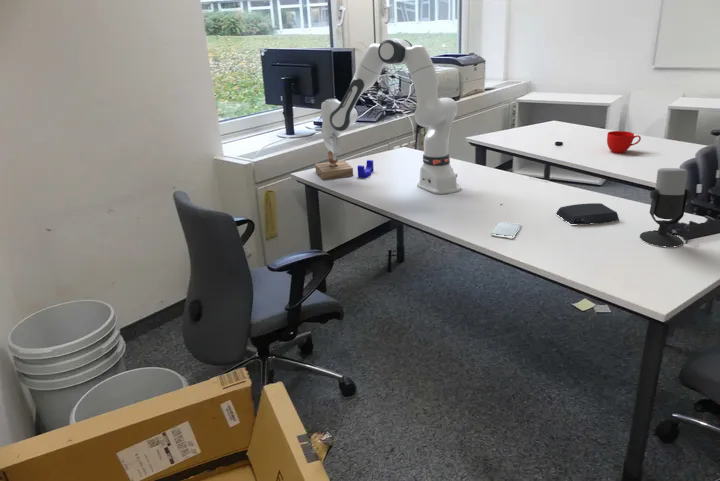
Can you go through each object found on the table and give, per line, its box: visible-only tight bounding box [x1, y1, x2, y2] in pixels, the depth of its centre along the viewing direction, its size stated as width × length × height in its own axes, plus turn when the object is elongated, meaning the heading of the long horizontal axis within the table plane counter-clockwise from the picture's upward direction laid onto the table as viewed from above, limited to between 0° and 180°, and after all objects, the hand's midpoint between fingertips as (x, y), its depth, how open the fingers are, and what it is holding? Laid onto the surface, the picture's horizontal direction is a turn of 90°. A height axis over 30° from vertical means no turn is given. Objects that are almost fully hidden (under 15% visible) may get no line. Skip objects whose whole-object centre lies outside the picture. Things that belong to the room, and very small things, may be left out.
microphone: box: [639, 167, 693, 247], centre depth 169 cm, size 13×13×25 cm
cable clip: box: [357, 159, 374, 179], centre depth 259 cm, size 12×4×6 cm, turn 153°
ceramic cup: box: [606, 130, 642, 154], centre depth 275 cm, size 13×17×10 cm
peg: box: [327, 151, 339, 167], centre depth 262 cm, size 5×5×8 cm
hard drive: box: [490, 221, 522, 237], centre depth 187 cm, size 2×8×12 cm
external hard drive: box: [555, 202, 620, 225], centre depth 194 cm, size 13×19×4 cm
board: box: [314, 160, 354, 180], centre depth 264 cm, size 16×16×4 cm
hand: (333, 158), depth 261 cm, fingers closed on peg, 5 cm apart
